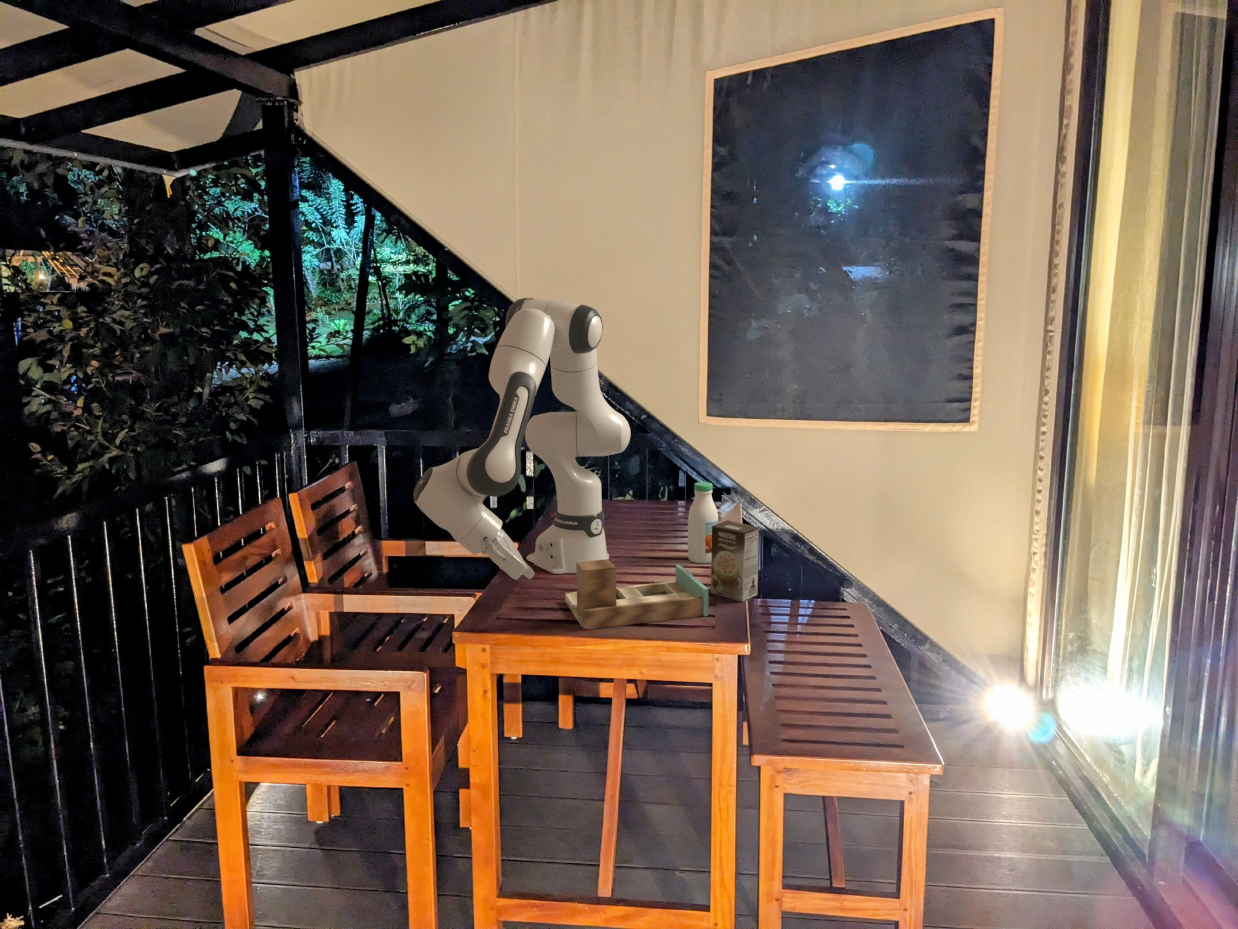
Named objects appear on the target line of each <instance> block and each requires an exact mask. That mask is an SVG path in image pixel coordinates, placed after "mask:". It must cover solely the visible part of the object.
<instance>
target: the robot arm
mask: <svg viewBox="0 0 1238 929" xmlns="http://www.w3.org/2000/svg"><path fill="white" fill-rule="evenodd" d="M505 316H506V317H505V329H504V331H503V332H502V334H501V336H500V338H499V341H498V343H497V346H496V348H495V350H494V353H493V356H492V358H491V361H490V365H489V366H490V367H489V372H488V380H489V383H490V386H491V387H492V388H493V389H494V391H495V392H496V393H497V394H498V395H499V404H498V405H499V406H498V408H497V411H496V414H495V418H494V420H493V424H492V428H491V430H490V433H489V436H488V438H487V439H486V440H485V442H484V443H483V444H481V446H480V447H479V448H474V449H471V450H468V451H464V452H463V453H461V454H460V455H458V456H457V457H455V458H454V459H452V460H450V461H448V462H446V463H443V464H442V465H438V466H433V467H432V466H431V467H429V468H427V470H426V471H425V472H423V474H422V475H421V476H420V477H419V479H418V481H417V482H416V485H415V488H414V490H413V500H414V504H416V505H417V507H418V508H419V510H420V511H421V512H422V513H423V514H425V515H426V517H428V518H429V519H430V520H431V521H432V522H433V523H434V524H435V525H436V526H438V527H439V528H440V529H443V530H446V531H447V532H448V533H449V534H450V535H451V536H452V538H453V539H454V540H455V541H456V542H457V543H458V544H460V545H461V546H462V548H464V549H466V550H467V551H468V552H469V553H471V554H472V555H474V556H475V555H479V554H480V553H481V555H483V556H486V555H487V556H488V558H489V559H490V560H491V562H493V563H494V564H496V565H497V566H498V567H499V569H502V571H503V572H504V573H506V574H507V575H508V576H509V577H510V578H512V579H513V580H515V581H516V580H518V579H519V578H521V576H524V577H526V578H527V579H528V580H531V579H532V578H533V577H534V576H535V573H536V572H535V571H534V570H533V568H532V567H531V566H530V565H529V564H528V563H527V562H528V561H530V562H532V563H534V564H533V565H534V566H537V567H539V568H541V569H543V570H545V571H547V572H550V573H551V574H554V575H555V574H557V575H558V574H559V575H560V574H576V562H584V561H595V560H605V559H608V560H609V559H610V553H608V549H607V542H606V541H607V540H606V534H605V529H604V524H605V514H604V509H603V503H602V502H603V501H602V481H601V479H600V478H599V477H598V475H597V474H595V473H594V472H593V471H590V470H588V469H586V468H584V467H582V466H581V465H579V464H578V462H577V460H576V458H578V457H607V456H611V455H616V454H620V453H623V452H624V451H625V450H626V449H627V447H628V446H629V444H630V441H631V440H630V439H631V427H630V424H629V421H628V420H627V419H626V418H625V416H624V415H622V413H620V412H618V411H617V410H615V409H614V408H613V407H612V406H611V405H610V404H609V403H608V402H607V401H606V399H605V398H604V396H603V394H602V391H601V388H600V387H601V385H600V378H599V369H598V368H599V367H598V353H597V352H598V351H597V350H598V349H597V347H598V346H599V344H600V342H601V339H602V335H603V330H604V329H603V328H604V327H603V326H604V323H603V319H602V316H601V315H600V313H599V312H598V310H597V309H595V308H594V307H591V306H590V305H589V306H588V305H586V304H577V303H574V302H571V301H566V300H560V299H545V298H544V299H541V298H540V299H538V298H537V299H536V298H533V297H522V298H518V299H516V300H515V301H514V302H513V303H512V304H511V305H510V306H509V307H508V310H507V312H506V315H505ZM549 359H550V360H549ZM549 361H550V362H549ZM548 362H549V363H550V374H551V375H550V376H551V391H552V392H553V395H554V396H555V397H556V399H557V400H559V401H560V402H561V403H562V404H564V405H567V406H569V407H571V408H572V409H574V410H575V411H562V412H561V411H551V412H545V413H541V414H537V415H533V416H532V417H531V415H532V411H533V406H534V402H535V397H536V395H537V392H538V389H539V386H540V384H541V381H542V378H543V376H544V373H545V371H546V368H547V366H548ZM530 417H531V418H530ZM524 438H525V442H526V445H527V447H528V448H529V450H530V451H531V453H533V455H536V456H537V457H538V458H540V459H541V460H542V462H544V463H545V464H546V466H547V467H548V469H549V470H550V472H551V474H552V476H553V477H552V478H553V479H554V482H555V491H556V499H557V510H556V511H552V512H550V513H549V514H552V515H550V518H553V521H552V524H551V526H549V527H548V528H547V529H546V530H545V531H543V532H542V533H541V534H539V535H538V536H537V538H536V540H535V546H534V547H535V550H534V551H535V552H532V553H529V554H528V555H527V556H526V559H527V560H528V561H527V560H526V559H525V560H526V561H525V560H524V558H523V556H522V555H521V553H520V552H519V550H518V549H517V547H516V544H515V543H514V542H513V540H512V539H511V538H510V536H509V535H508V534H507V533H506V532H505V530H503V529H502V526H503V521H502V520H501V519H500V518H499V517H498V516H497V515H496V514H495V513H493V512H492V511H491V510H490V509H489V508H487V507H486V506H485V505H484V504H483V502H484V500H485V499H486V498H487V497H492V498H493V497H494V498H496V497H497V498H498V497H503V496H505V495H507V494H508V493H511V492H512V491H513V489H514V488H515V487H517V484H518V483H519V481H520V480H519V479H520V477H521V471H522V462H521V458H522V457H521V453H522V452H521V450H522V443H523V441H524ZM530 562H529V563H530ZM532 563H531V564H532Z"/></svg>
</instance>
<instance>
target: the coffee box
mask: <svg viewBox="0 0 1238 929" xmlns="http://www.w3.org/2000/svg"><path fill="white" fill-rule="evenodd" d="M759 535H760V527H758V526H755V525H750V524H747V523H746V524H745V523H742V522H741V523H740V522H736V521H733V520H724V521H721V522H718V524H716V525H714V526H712V561H711V563H710V564H711V575H710V593H711V594H713V595H716V596H720V597H724V598H727V599H731V600H734V601H738V602H746V601H748V600H749V599H752V598H753V597H756V596H758V582H759V577H758V576H759V541H760V539H759V538H760V537H759ZM746 598H747V600H746Z"/></svg>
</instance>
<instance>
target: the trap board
mask: <svg viewBox="0 0 1238 929" xmlns="http://www.w3.org/2000/svg"><path fill="white" fill-rule="evenodd" d="M564 602H565V604H566V603H567V604H566V605H567V607H568V606H569V607H568V608H569V609H570V611H571V613H572V614H573V615H574V617H575V618H576V620H577V622H578V623H579V624H580V626H581V628H582V627H583V628H582V629H583V630H584V629H587V630H594V629H602V628H611V627H620V626H627V625H635V624H645V623H654V622H660V621H669V620H677V619H685V618H686V619H687V618H695V617H704V616H703V597H702V596H699V597H692V596H691V595H690V594H689V593H688V592H686V591H685V590H684V589H683V588H682V587H681V586H680V585H679V584H678V583H677V582H676V580H673V581H663V582H654V583H644V584H635V585H625V586H618V587H617V586H616V606H610V607H601V608H593V609H584V610H582V614H581V612H580V611H579V609H578V608H577V591H569V592H564Z"/></svg>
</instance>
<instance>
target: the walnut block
mask: <svg viewBox="0 0 1238 929" xmlns="http://www.w3.org/2000/svg"><path fill="white" fill-rule="evenodd" d="M616 568H617V566H615V564H613V563H612V561H610V560H609V559H605V560H595V561H584V562H576V573H575V574H576V575H575V576H576V592H577V608H578V609H579V611H580V612H581V614H582V610H584V609H593V608H601V607H610V606H616V587H617V569H616Z"/></svg>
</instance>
